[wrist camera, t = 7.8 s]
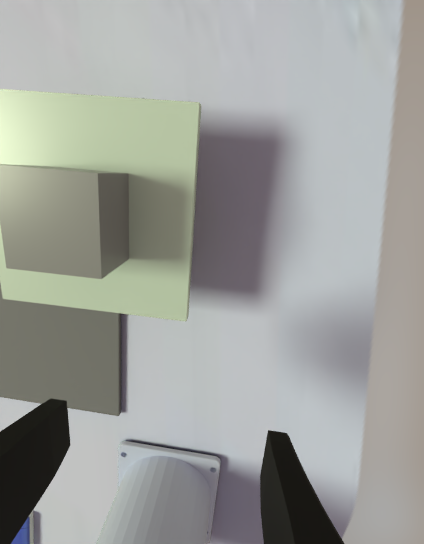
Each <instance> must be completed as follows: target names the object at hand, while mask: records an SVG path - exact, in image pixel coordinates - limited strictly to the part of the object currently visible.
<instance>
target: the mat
mask: <svg viewBox="0 0 424 544" xmlns="http://www.w3.org/2000/svg"><path fill="white" fill-rule="evenodd" d="M0 397H4V398H10V399H16V400H23V401H29V402H35V403H41V404H43V403H44V402H46V401H47V400H49V399H50V398H52V399H58V400H65V401H67V408H72V409H78V410H84V411H90V412H97V413H103V414H109V415H115V416H119V414H120V413H121V313H114V312H106V311H97V310H89V309H81V308H73V307H65V306H57V305H49V304H41V303H32V302H24V301H16V300H8V299H3V297H2V290H1V284H0Z"/></svg>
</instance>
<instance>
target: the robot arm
mask: <svg viewBox="0 0 424 544" xmlns="http://www.w3.org/2000/svg"><path fill="white" fill-rule="evenodd" d="M69 447H70V436H69V423H68V410H67V401H65V400H58V399H52V398H50V399H49V400H47V401H46V402H44V403H43V404H41V405H40V406H38V407H37V408H35V409H34V410H32V411H31V412H29V413H28V414H26V415H25V416H23V417H22V418H20V419H19V420H17V421H16V422H14V423H13V424H11V425H10V426H8V427H7V428H5V429H4V430H2V431H1V432H0V544H11V543H12V541H13V540H14V538H15V537H16V535H17V534H18V532H19V531H20V529H21V527H22V526H23V524H24V523H25V521H26V520H27V518H28V517H29V515H30V514H31V512H32V511H33V509H34V507H35V506H36V504H37V503H38V501H39V500H40V498H41V497H42V495H43V494H44V492H45V490H46V489H47V487H48V486H49V484H50V483H51V481H52V479H53V478H54V476H55V474H56V472H57V471H58V469H59V467H60V465H61V463H62V461H63V459H64V457H65V455H66V453H67V451H68V449H69ZM220 464H221V461H220V459H219V458H218V457H216V456H212V455H206V454H200V453H194V452H188V451H182V450H176V449H170V448H164V447H158V446H152V445H146V444H140V443H134V442H128V441H122V442H121V443H120V444H119V446H118V491H117V493H116V496H115V498H114V501H113V503H112V506H111V508H110V511H109V513H108V516H107V518H106V521H105V523H104V526H103V528H102V530H101V533H100V535H99V538H98V540H97V543H96V544H207V543H209V541H210V536H211V529H212V522H213V515H214V508H215V501H216V493H217V486H218V479H219V472H220ZM212 467H214V468H212ZM260 492H261V518H262V528H263V539H264V544H344V542H343V541H342V539H341V537H340V536H339V534H338V532H337V531H336V529H335V527H334V525H333V524H332V522H331V520H330V519H329V517H328V515H327V513H326V512H325V510H324V508H323V506H322V504H321V503H320V501H319V499H318V497H317V495H316V493H315V491H314V489H313V487H312V485H311V484H310V482H309V480H308V478H307V476H306V474H305V472H304V469H303V467H302V465H301V463H300V461H299V459H298V457H297V454H296V452H295V450H294V447H293V445H292V443H291V440H290V438H289V436H288V435H287V433H283V432H276V431H269V430H268V435H267V440H266V446H265V452H264V458H263V463H262V469H261V475H260Z"/></svg>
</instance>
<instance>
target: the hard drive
mask: <svg viewBox="0 0 424 544" xmlns="http://www.w3.org/2000/svg"><path fill="white" fill-rule="evenodd" d="M33 517H34V516H33V511H32V512H31V514H30V515H29V517H28V518H27V520H26V521H25V523H24V524H23V526H22V527H21V529H20V531H19V532H18V534H17V535H16V537H15V538H14V540H13V541H12V543H11V544H34V520H33Z"/></svg>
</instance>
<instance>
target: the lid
mask: <svg viewBox="0 0 424 544" xmlns="http://www.w3.org/2000/svg"><path fill="white" fill-rule="evenodd" d="M200 119H201V104H200V103H199V102H184V101H169V100H154V99H139V98H125V97H110V96H95V95H80V94H66V93H51V92H36V91H21V90H7V89H0V284H1V290H2V297H3V299H8V300H16V301H24V302H32V303H41V304H49V305H57V306H65V307H73V308H81V309H89V310H97V311H106V312H114V313H122V314H130V315H138V316H146V317H154V318H163V319H171V320H179V321H187V318H188V314H189V298H190V281H191V265H192V249H193V233H194V216H195V200H196V184H197V168H198V152H199V135H200Z"/></svg>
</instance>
